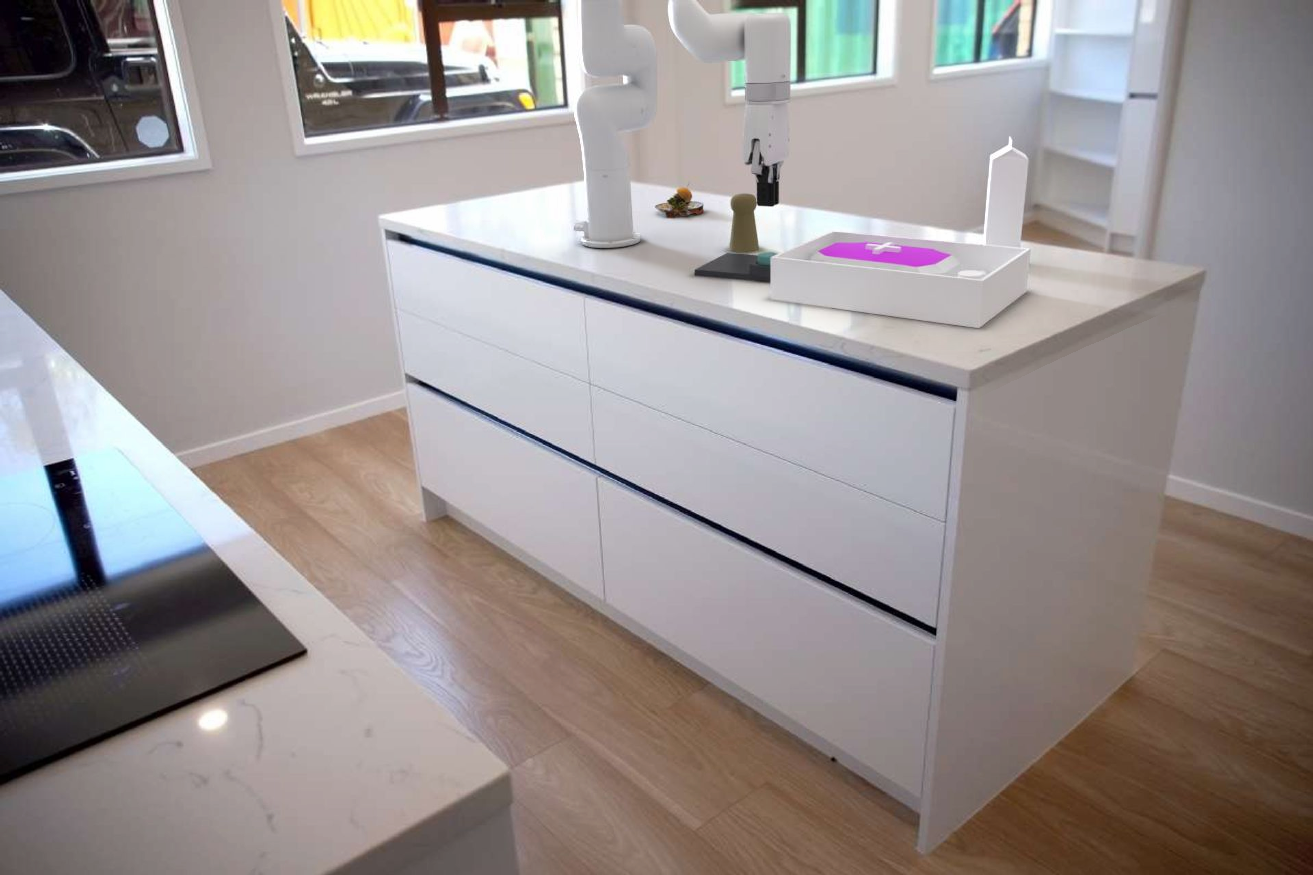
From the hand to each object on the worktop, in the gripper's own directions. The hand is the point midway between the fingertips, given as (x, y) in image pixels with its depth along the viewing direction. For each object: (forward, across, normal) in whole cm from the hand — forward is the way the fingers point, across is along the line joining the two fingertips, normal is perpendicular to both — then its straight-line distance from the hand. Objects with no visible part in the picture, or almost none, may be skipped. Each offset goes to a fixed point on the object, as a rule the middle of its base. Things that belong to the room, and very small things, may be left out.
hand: (767, 204), depth 173 cm
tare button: (+11, 0, 0) cm, 11 cm away
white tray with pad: (+13, +4, +24) cm, 28 cm away
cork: (+13, -20, -14) cm, 27 cm away
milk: (+13, -22, +36) cm, 44 cm away
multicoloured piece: (+13, -50, -44) cm, 69 cm away
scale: (+13, -4, -6) cm, 15 cm away
